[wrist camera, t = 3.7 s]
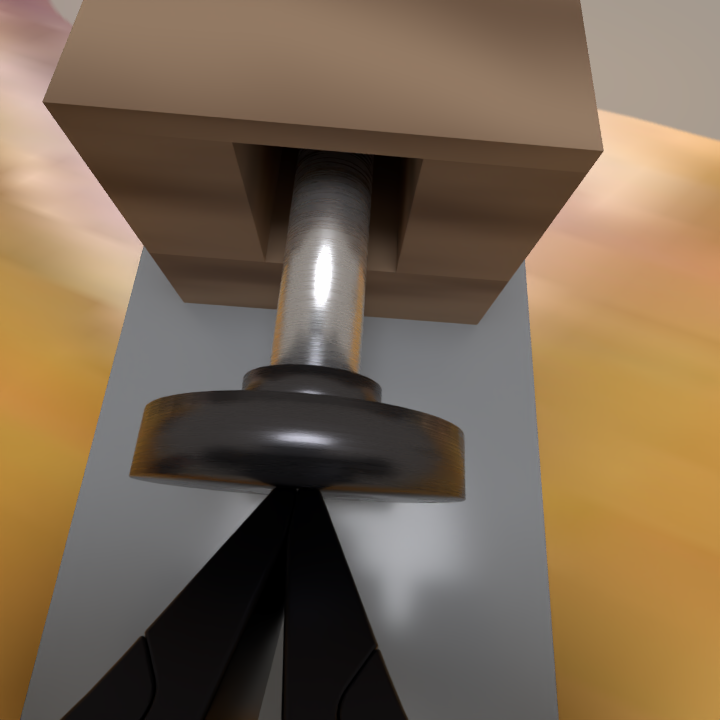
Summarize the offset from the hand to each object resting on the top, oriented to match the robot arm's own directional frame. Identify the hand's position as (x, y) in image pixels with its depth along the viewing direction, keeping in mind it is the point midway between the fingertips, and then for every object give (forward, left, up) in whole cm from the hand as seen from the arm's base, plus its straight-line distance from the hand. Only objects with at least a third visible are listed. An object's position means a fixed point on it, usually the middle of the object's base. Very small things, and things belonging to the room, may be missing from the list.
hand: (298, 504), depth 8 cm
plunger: (+5, -2, -4) cm, 7 cm away
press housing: (+11, -4, -6) cm, 14 cm away
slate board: (+5, -2, -7) cm, 9 cm away
